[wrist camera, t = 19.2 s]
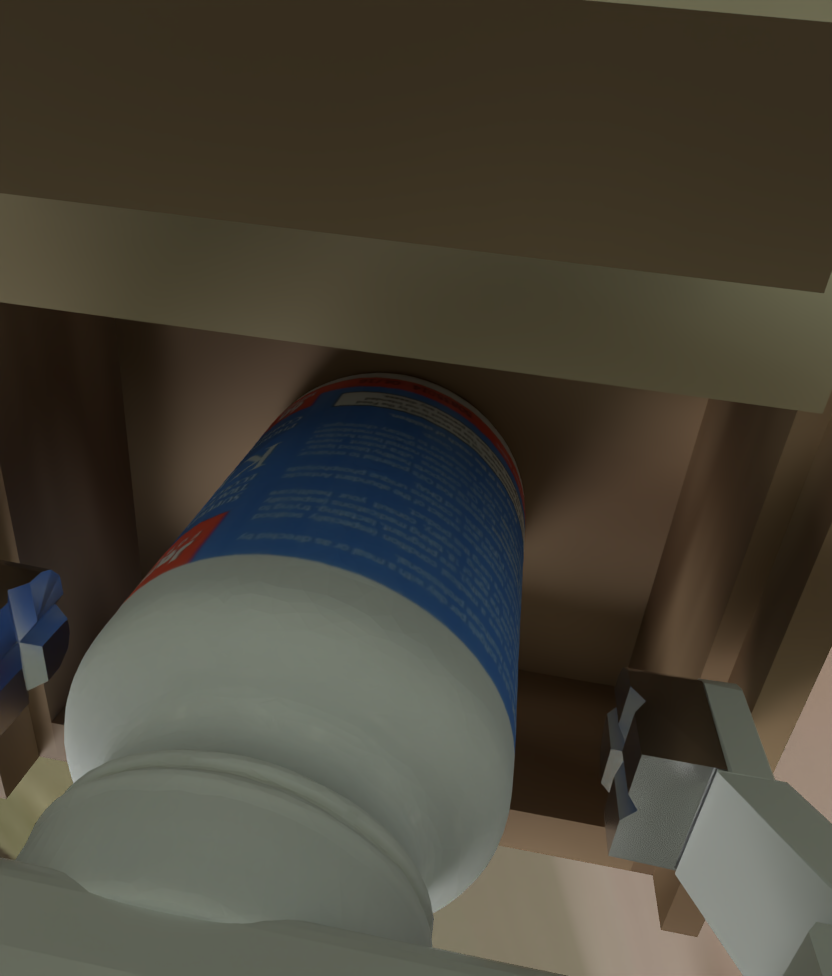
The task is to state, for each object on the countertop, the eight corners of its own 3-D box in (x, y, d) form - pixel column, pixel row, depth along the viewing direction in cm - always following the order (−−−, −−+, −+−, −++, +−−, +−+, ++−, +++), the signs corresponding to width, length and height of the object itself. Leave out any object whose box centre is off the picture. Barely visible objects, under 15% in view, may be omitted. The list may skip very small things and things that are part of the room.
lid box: (652, 703, 17) (697, 937, 12) (125, 612, 18) (-25, 792, 13) (862, 63, 11) (1118, 26, 6) (49, -13, 12) (-275, -95, 7)
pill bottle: (286, 327, 13) (-165, 716, 5) (566, 416, 13) (619, 966, 5) (241, 563, 16) (-102, 1087, 7) (475, 637, 16) (404, 1250, 7)
